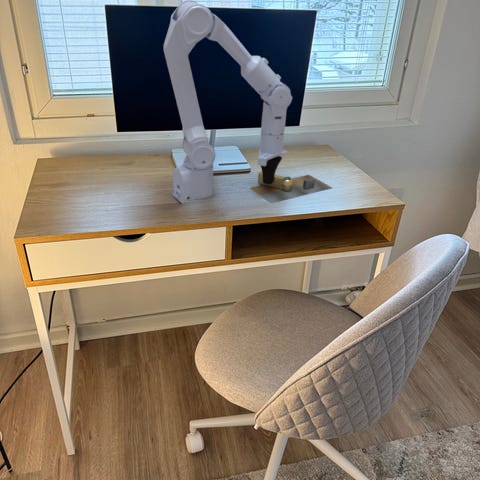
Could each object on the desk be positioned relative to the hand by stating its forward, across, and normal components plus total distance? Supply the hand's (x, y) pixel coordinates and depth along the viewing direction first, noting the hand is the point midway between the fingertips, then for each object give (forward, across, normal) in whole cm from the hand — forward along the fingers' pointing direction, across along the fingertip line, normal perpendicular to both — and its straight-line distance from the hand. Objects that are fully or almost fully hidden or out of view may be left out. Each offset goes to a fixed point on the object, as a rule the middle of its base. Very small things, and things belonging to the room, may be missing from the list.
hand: (267, 183), depth 121 cm
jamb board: (+2, +2, -6) cm, 7 cm away
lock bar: (+1, +1, -2) cm, 2 cm away
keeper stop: (+1, +4, -10) cm, 11 cm away
